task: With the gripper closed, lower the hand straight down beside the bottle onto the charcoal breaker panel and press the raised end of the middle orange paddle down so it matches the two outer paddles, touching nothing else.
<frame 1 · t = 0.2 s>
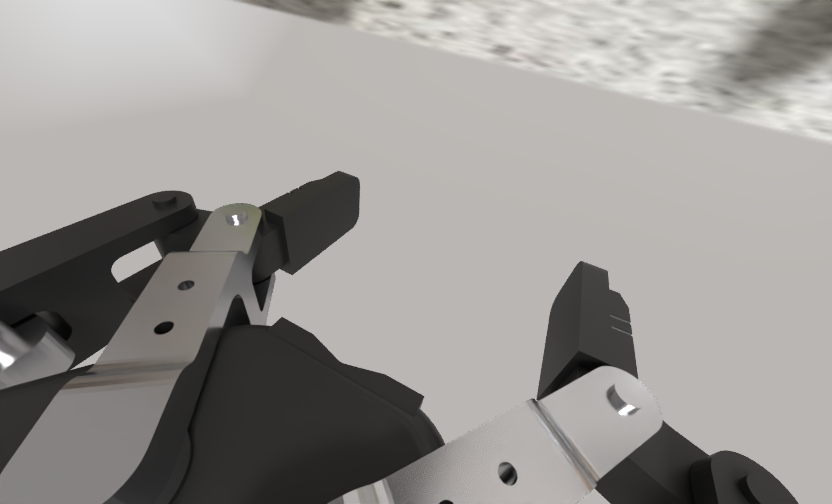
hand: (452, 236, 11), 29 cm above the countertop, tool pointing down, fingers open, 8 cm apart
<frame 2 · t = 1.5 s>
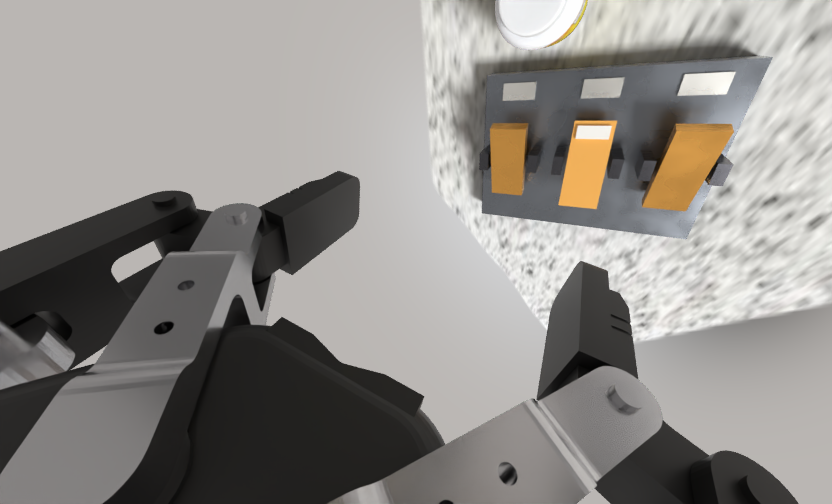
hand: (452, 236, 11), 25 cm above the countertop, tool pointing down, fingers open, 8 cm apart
supplement bottle: (551, 7, 25), on the countertop
breaker panel: (587, 149, 29), on the countertop
middle breaker: (585, 165, 26), point 5 cm above the countertop, hinge at 17.0°
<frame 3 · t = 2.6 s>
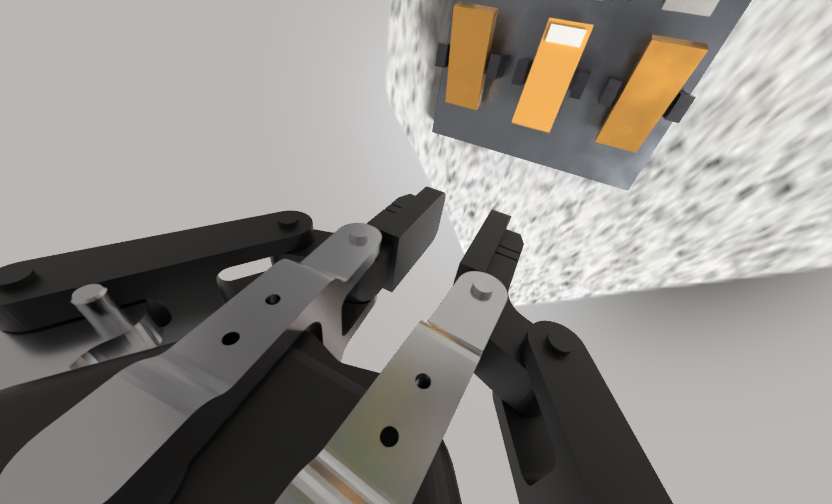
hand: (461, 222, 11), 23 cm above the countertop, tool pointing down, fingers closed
breaker panel: (555, 73, 26), on the countertop
middle breaker: (549, 78, 22), point 5 cm above the countertop, hinge at 17.0°
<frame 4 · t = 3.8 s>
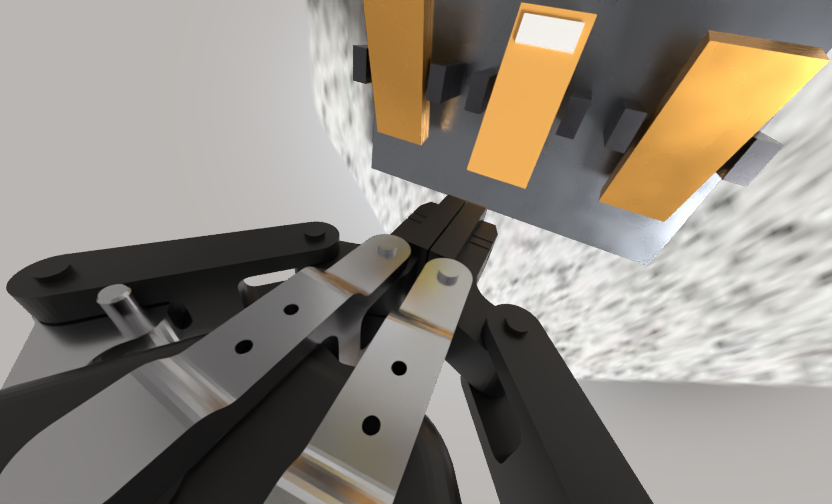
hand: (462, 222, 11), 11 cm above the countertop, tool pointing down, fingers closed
breaker panel: (538, 90, 17), on the countertop
middle breaker: (523, 103, 14), point 5 cm above the countertop, hinge at 17.0°
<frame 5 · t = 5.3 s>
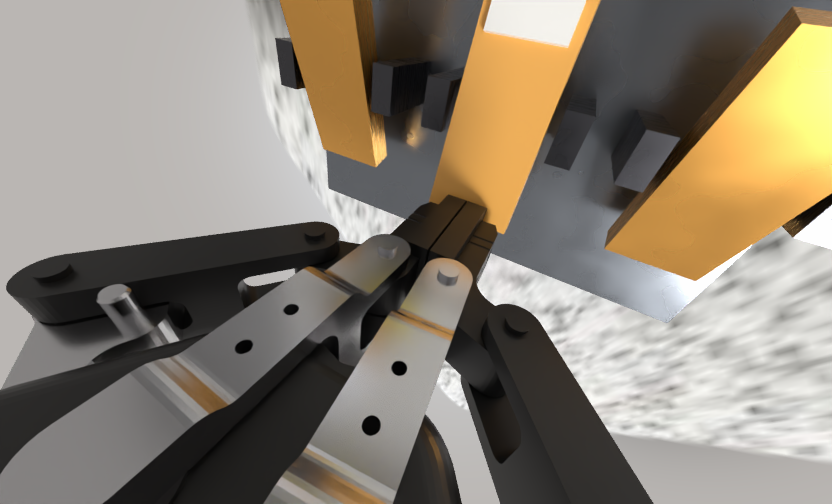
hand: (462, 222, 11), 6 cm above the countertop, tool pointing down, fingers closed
breaker panel: (527, 96, 14), on the countertop
middle breaker: (500, 118, 10), point 5 cm above the countertop, hinge at 13.8°, touching gripper
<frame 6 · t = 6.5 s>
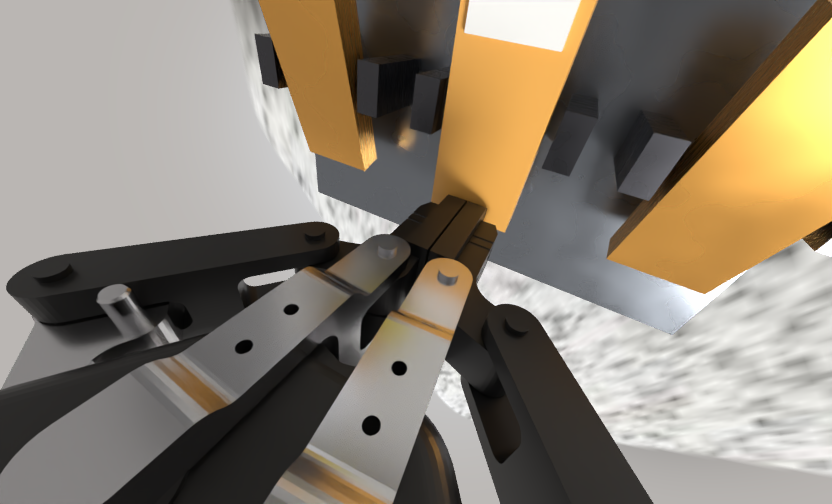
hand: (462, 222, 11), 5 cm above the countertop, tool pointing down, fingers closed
breaker panel: (524, 95, 13), on the countertop
middle breaker: (494, 121, 9), point 5 cm above the countertop, hinge at -6.3°
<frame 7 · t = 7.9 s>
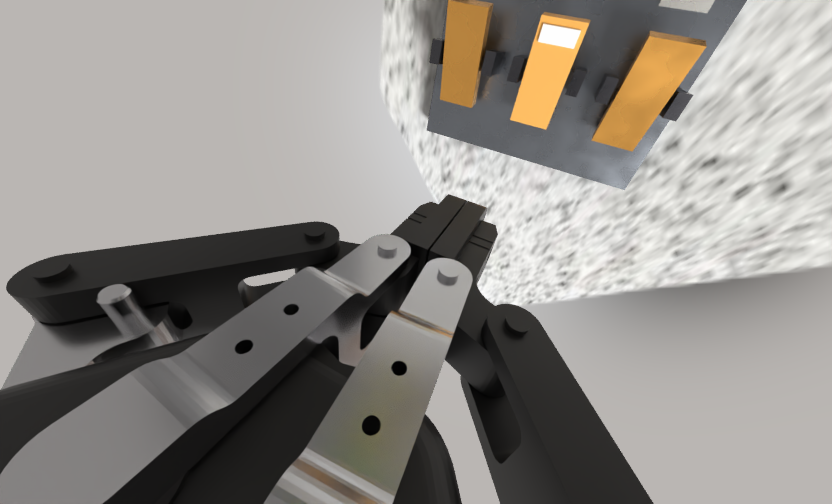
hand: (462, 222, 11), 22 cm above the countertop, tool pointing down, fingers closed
breaker panel: (551, 71, 26), on the countertop
middle breaker: (545, 76, 22), point 5 cm above the countertop, hinge at -11.9°
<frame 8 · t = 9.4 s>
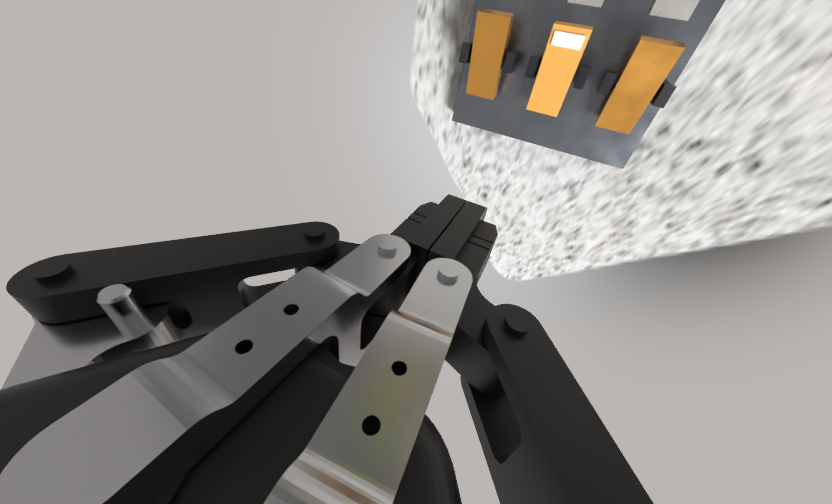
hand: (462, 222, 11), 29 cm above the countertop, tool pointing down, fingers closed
breaker panel: (560, 68, 31), on the countertop
middle breaker: (556, 72, 27), point 5 cm above the countertop, hinge at -13.1°
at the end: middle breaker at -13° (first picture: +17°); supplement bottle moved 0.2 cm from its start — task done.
